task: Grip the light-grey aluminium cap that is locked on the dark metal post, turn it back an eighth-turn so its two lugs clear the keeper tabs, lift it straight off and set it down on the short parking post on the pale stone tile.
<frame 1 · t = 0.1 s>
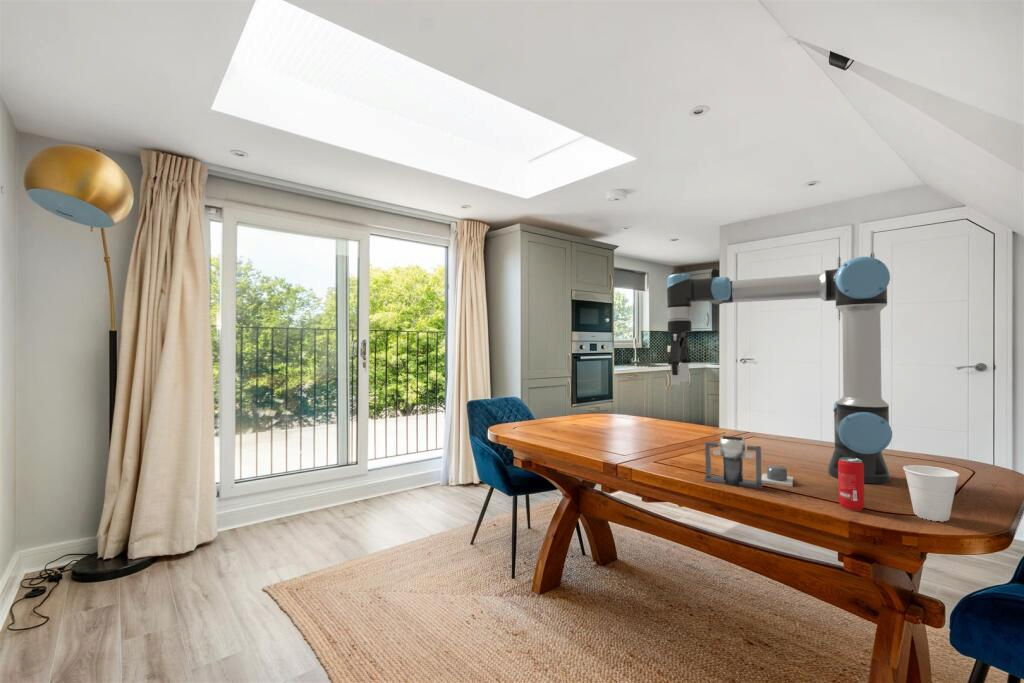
hand: (680, 383, 157), 28 cm above the table, fingers open, 13 cm apart
beverage can: (851, 508, 117), on the table
lock post: (733, 482, 138), on the table
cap: (732, 455, 138), point 8 cm above the table, touching lock post
cup: (931, 518, 110), on the table
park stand: (776, 481, 139), on the table
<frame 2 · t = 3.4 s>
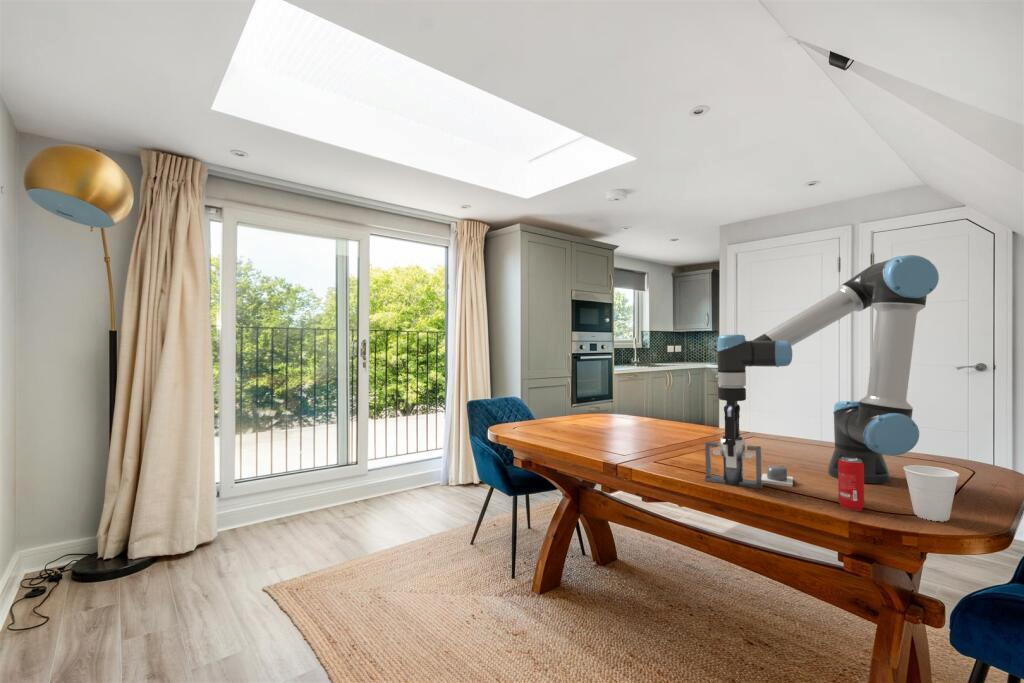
hand: (732, 464, 138), 6 cm above the table, fingers closed on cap, 7 cm apart
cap: (732, 455, 138), point 8 cm above the table, touching gripper, lock post
everything else where it was.
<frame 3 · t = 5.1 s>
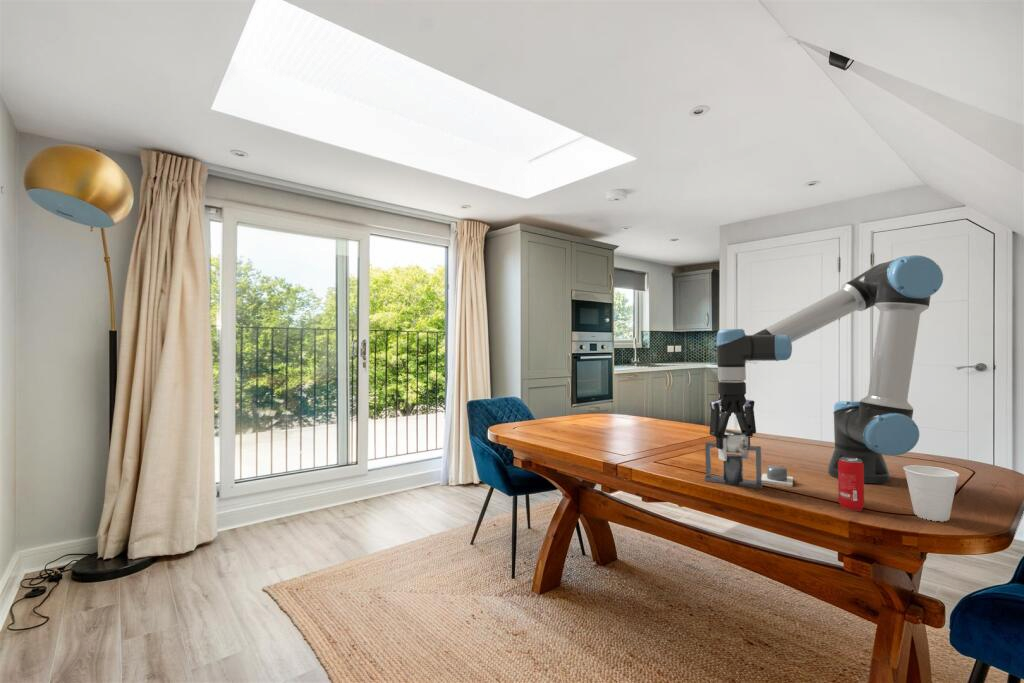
hand: (733, 458, 138), 7 cm above the table, fingers closed on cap, 7 cm apart
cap: (733, 450, 138), point 10 cm above the table, touching gripper
everything else where it was.
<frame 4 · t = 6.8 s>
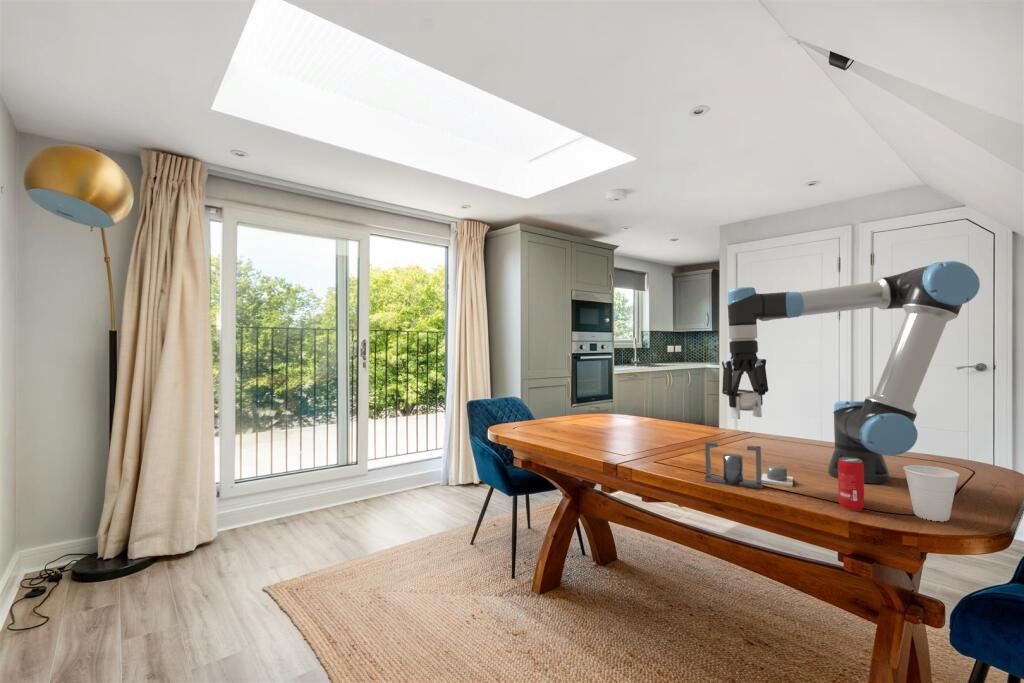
hand: (746, 417, 138), 19 cm above the table, fingers closed on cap, 7 cm apart
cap: (746, 409, 138), point 22 cm above the table, touching gripper
everything else where it was.
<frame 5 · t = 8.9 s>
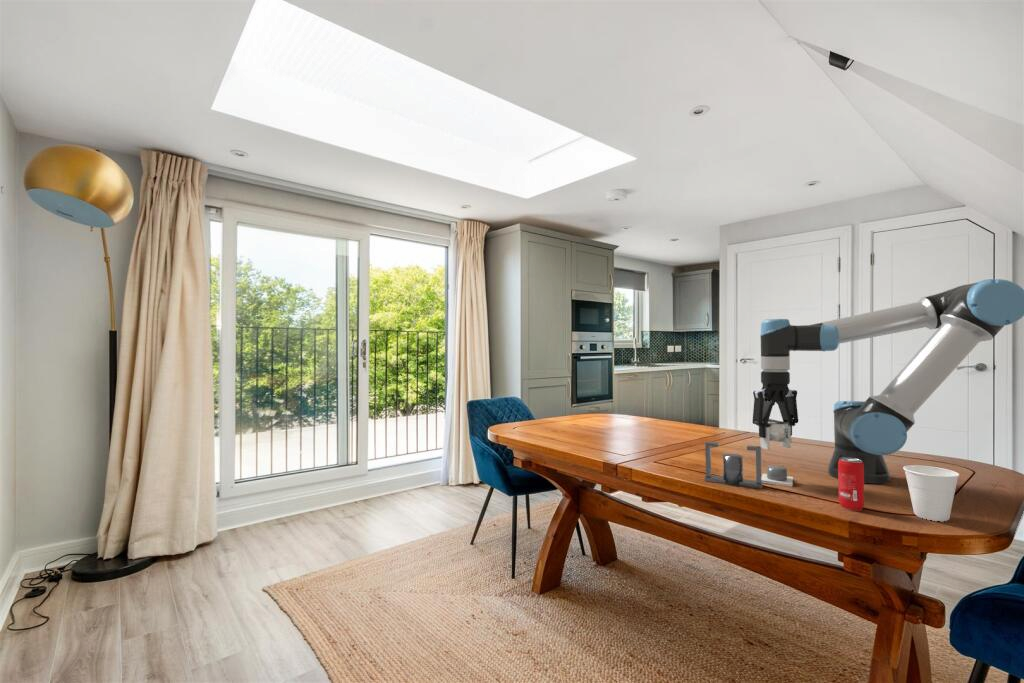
hand: (775, 447, 139), 10 cm above the table, fingers closed on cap, 7 cm apart
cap: (775, 439, 139), point 12 cm above the table, touching gripper
everything else where it was.
when the fingers open (3 cm above the table, at t = 10.5 s): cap stays where it is, resting on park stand.
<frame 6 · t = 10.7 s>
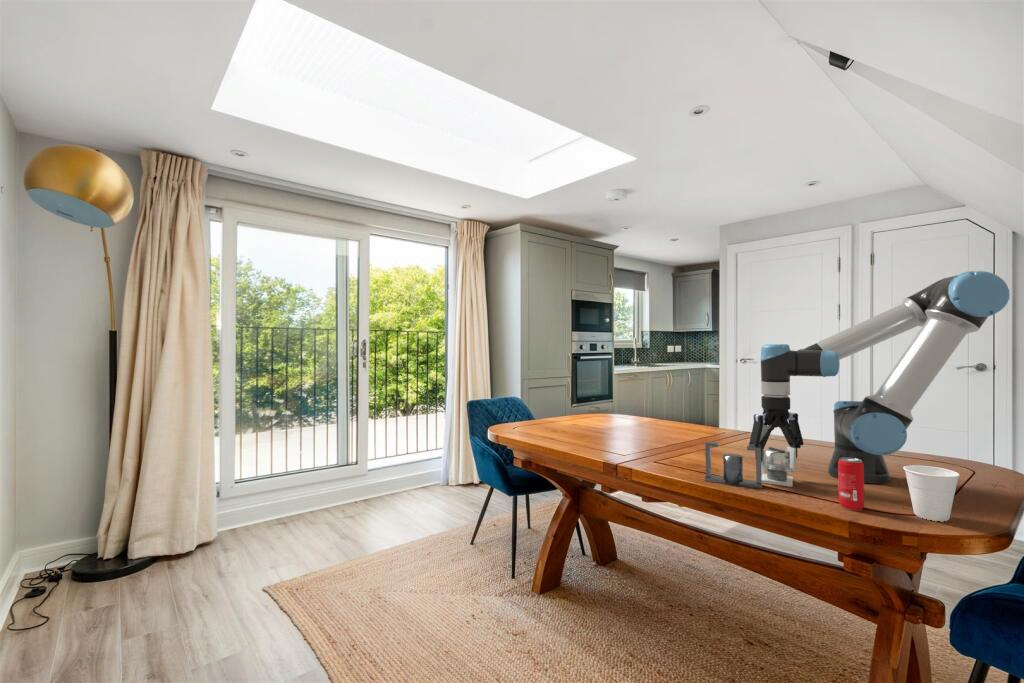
hand: (776, 470, 139), 3 cm above the table, fingers open, 10 cm apart
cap: (776, 467, 139), point 4 cm above the table, touching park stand
everything else where it was.
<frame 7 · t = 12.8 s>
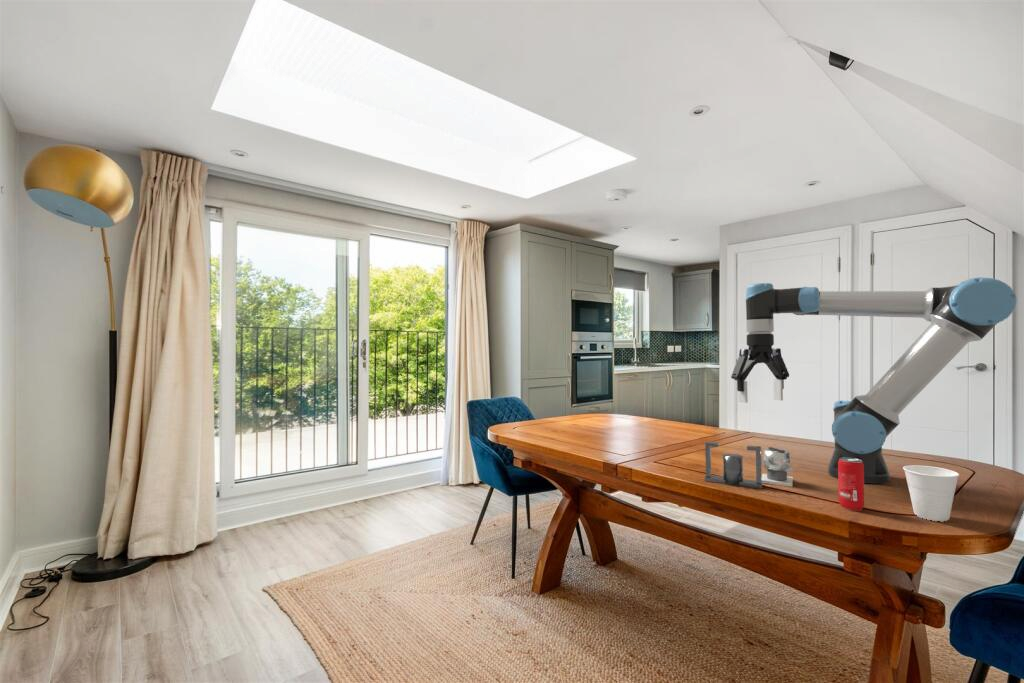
hand: (761, 401, 146), 23 cm above the table, fingers open, 13 cm apart
nothing on the table moved.
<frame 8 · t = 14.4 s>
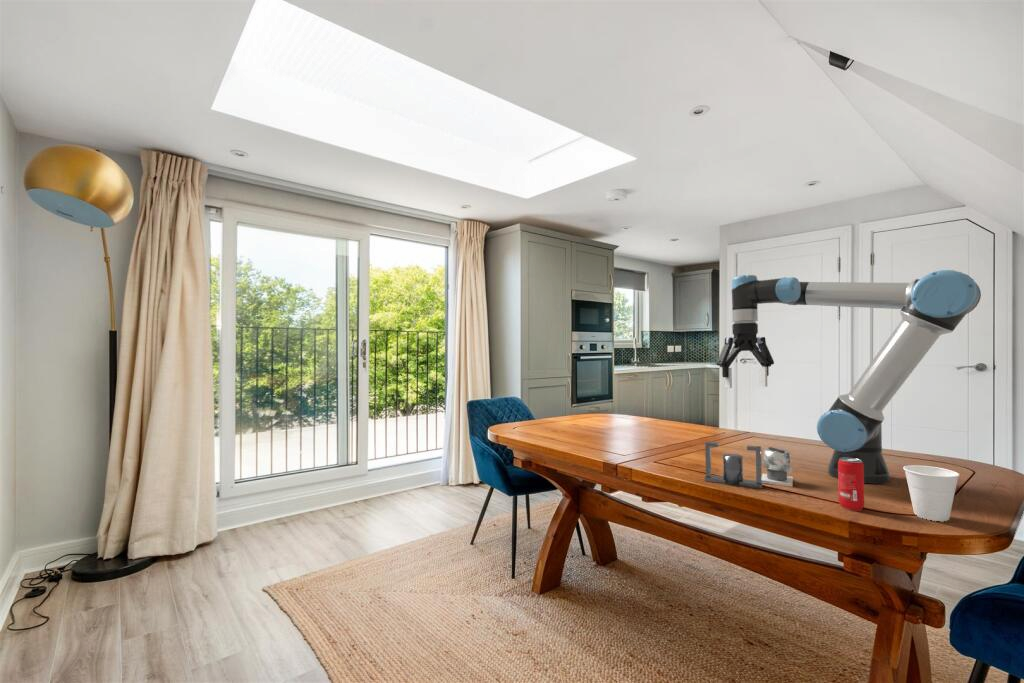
hand: (745, 387, 154), 27 cm above the table, fingers open, 13 cm apart
nothing on the table moved.
at the end: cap 0.1 cm off-centre on the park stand, point 4.0 cm above the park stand's base; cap tilted 0°; the gripper is holding nothing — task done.
